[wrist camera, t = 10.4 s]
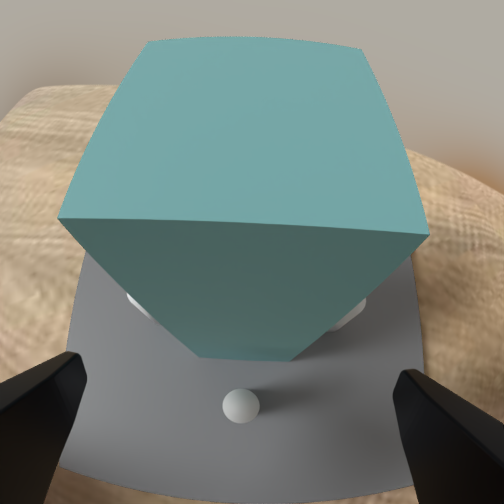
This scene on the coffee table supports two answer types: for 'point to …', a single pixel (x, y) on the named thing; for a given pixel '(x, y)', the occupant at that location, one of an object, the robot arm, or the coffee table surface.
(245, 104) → the teal block
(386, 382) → the peg plate
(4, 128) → the coffee table surface
